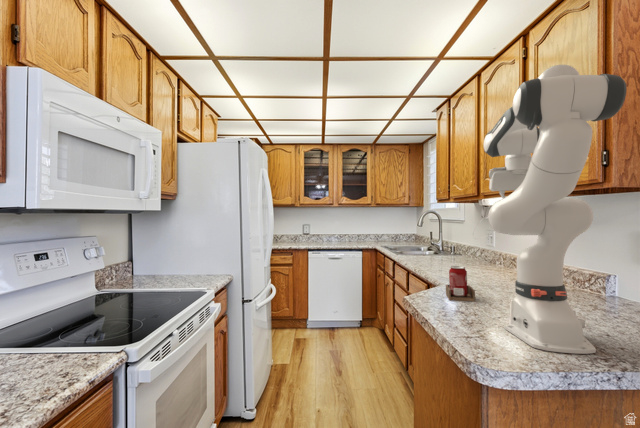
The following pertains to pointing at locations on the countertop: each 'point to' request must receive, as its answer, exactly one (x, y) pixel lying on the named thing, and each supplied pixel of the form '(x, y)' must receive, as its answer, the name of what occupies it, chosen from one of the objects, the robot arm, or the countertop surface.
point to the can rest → (469, 297)
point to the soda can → (458, 281)
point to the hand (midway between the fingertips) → (519, 202)
